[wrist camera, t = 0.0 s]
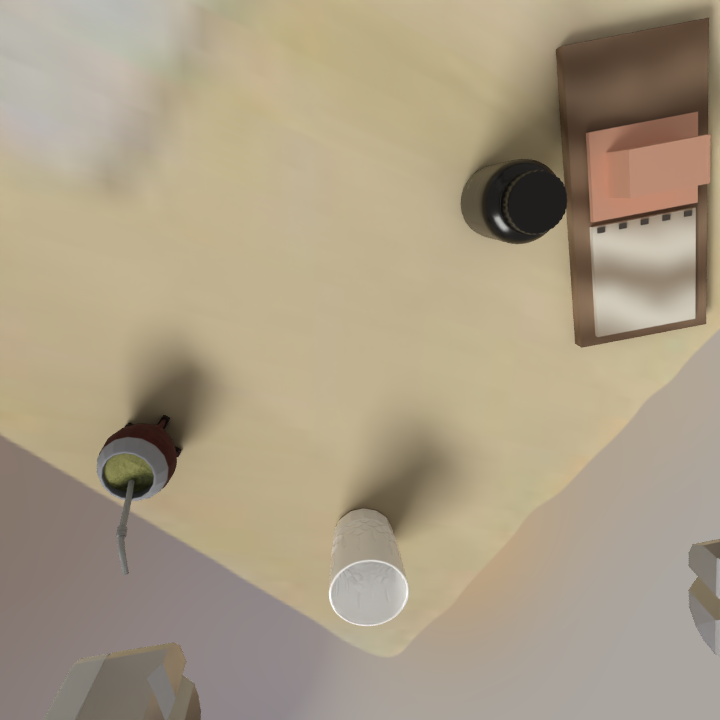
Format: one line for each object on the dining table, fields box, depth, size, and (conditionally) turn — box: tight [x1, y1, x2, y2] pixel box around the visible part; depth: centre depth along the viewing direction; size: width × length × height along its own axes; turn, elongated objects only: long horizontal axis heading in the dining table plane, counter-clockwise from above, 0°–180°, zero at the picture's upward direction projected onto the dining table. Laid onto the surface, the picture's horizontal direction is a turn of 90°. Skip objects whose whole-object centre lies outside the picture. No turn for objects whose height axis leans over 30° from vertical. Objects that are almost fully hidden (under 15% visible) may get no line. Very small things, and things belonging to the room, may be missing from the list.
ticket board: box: [556, 18, 709, 348], centre depth 53 cm, size 28×13×2 cm, turn 10°
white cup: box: [329, 508, 409, 626], centre depth 59 cm, size 8×8×10 cm
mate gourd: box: [97, 415, 181, 575], centre depth 52 cm, size 8×8×15 cm
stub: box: [586, 112, 711, 222], centre depth 50 cm, size 8×10×5 cm
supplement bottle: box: [461, 159, 568, 244], centre depth 48 cm, size 7×7×12 cm
